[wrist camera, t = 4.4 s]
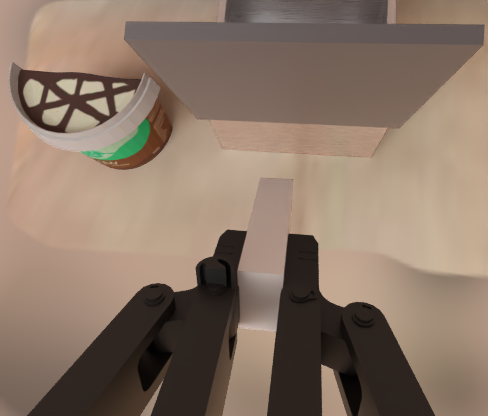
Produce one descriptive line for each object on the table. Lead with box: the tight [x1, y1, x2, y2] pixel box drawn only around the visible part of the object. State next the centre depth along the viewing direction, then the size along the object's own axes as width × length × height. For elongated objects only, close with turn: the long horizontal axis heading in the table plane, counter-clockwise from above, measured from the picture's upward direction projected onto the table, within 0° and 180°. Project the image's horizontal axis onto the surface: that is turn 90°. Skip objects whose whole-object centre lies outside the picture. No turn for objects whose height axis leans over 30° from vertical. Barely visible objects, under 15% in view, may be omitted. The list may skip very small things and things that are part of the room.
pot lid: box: [124, 22, 484, 128], centre depth 22 cm, size 15×12×1 cm
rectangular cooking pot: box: [209, 0, 396, 157], centre depth 34 cm, size 19×12×8 cm, turn 84°
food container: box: [9, 62, 172, 170], centre depth 34 cm, size 12×6×10 cm, turn 81°
